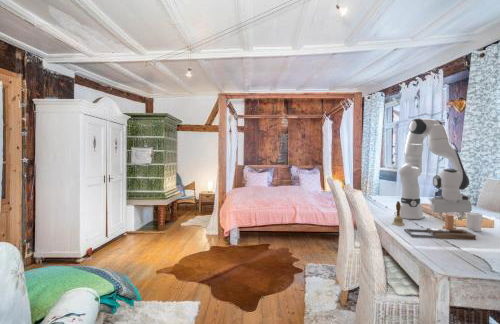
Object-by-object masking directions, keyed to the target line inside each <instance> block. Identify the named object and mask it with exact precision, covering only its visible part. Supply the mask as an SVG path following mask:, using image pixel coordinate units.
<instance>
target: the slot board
mask: <svg viewBox="0 0 500 324" xmlns="http://www.w3.org/2000/svg"><path fill="white" fill-rule="evenodd" d="M430 228H431V227H429V228H428V227H427V228H426V230H427V232H426V233H428V235H431V234H430ZM434 229H437V228H436V227H435V228H434ZM447 230H449V231H450V233H434V235H436V238H435V239H436V240H437V239H440V240H442V239H444V240H467V241H477V235H475V234H474V233H471V232H469V231H468V230H465V228H464V229H463V228H461V229H459V228H456V229H447Z"/></svg>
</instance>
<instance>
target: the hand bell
mask: <svg viewBox="0 0 500 324" xmlns="http://www.w3.org/2000/svg"><path fill="white" fill-rule="evenodd" d="M400 203H401V201H399V200H398V201H396V205H395V208H396V209H397V210H396V209H395V210H396V212H397V217H396V216H395V217H394V218H393V219H394V220H393V222H392V223H391V225H392V226H394V225H395V226H405V223H404V222H403V221H404V220H403V218H401V217H400V208H401V205H400ZM391 225H390V226H391Z"/></svg>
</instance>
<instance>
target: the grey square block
mask: <svg viewBox="0 0 500 324" xmlns="http://www.w3.org/2000/svg"><path fill="white" fill-rule="evenodd" d="M429 228H430V234H429V235H434V233H441V230H439V229H440V228H436V229H434V228H432V227H429Z"/></svg>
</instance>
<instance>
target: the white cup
mask: <svg viewBox="0 0 500 324" xmlns="http://www.w3.org/2000/svg"><path fill="white" fill-rule="evenodd" d="M465 222H466V229H468V230H471V231H472V232H481V231H482V223H483V213H480V212H475V211H474V212H473V211H471V212H465Z"/></svg>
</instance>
